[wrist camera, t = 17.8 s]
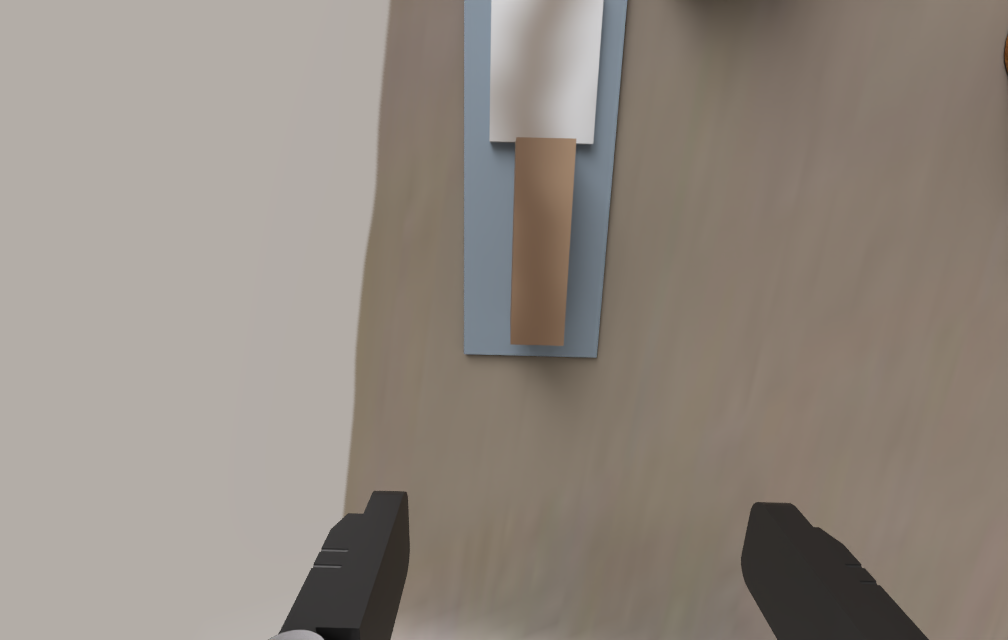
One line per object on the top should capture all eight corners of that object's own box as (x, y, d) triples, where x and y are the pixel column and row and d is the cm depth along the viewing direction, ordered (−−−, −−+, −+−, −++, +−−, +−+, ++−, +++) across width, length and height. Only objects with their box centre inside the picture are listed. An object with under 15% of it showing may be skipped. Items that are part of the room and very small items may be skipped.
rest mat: (626, -14, 27) (628, -18, 27) (595, 354, 34) (596, 357, 33) (465, -19, 27) (464, -23, 27) (464, 350, 34) (464, 354, 33)
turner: (601, -10, 27) (621, -50, 22) (578, 320, 32) (590, 346, 28) (492, -13, 27) (488, -53, 22) (487, 318, 32) (483, 343, 28)
